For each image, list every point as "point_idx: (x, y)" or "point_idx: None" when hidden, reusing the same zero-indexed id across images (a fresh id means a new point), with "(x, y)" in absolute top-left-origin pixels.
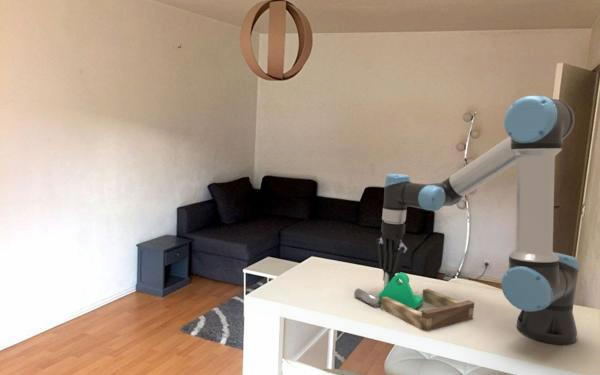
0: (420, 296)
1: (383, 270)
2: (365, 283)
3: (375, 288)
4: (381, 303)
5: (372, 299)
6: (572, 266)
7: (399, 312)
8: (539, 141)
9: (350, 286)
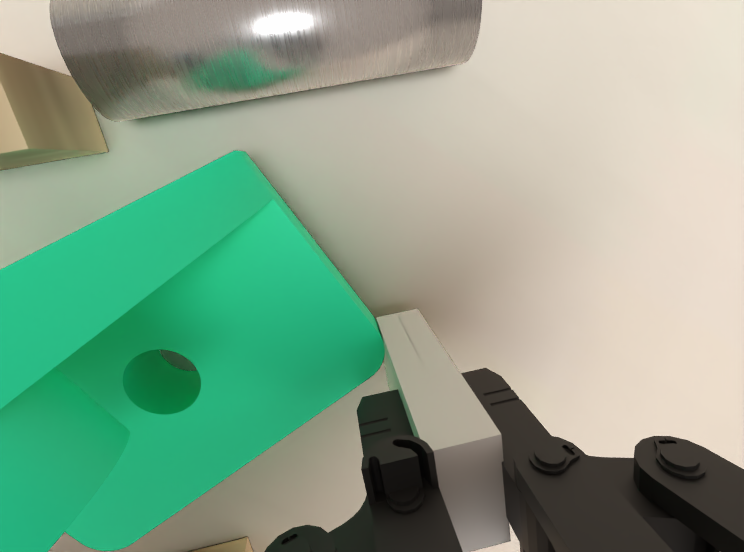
0: (125, 540)
1: (552, 443)
2: (695, 296)
3: (570, 318)
4: (43, 67)
5: None
6: None
7: None
8: None
9: (701, 118)
